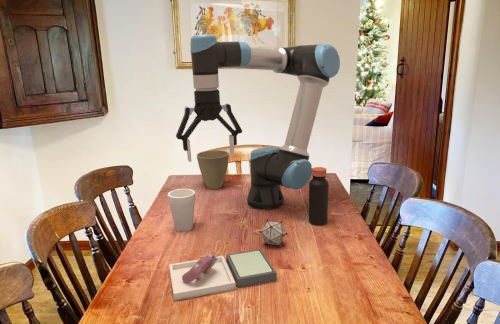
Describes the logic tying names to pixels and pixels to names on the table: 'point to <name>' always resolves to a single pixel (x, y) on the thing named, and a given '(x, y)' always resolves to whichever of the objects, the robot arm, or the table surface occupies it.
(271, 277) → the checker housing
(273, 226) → the game die
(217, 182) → the plant pot
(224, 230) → the table surface
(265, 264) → the pale green flat panel
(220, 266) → the tray
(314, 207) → the bottle
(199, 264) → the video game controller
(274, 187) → the robot arm
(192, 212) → the foam cup
